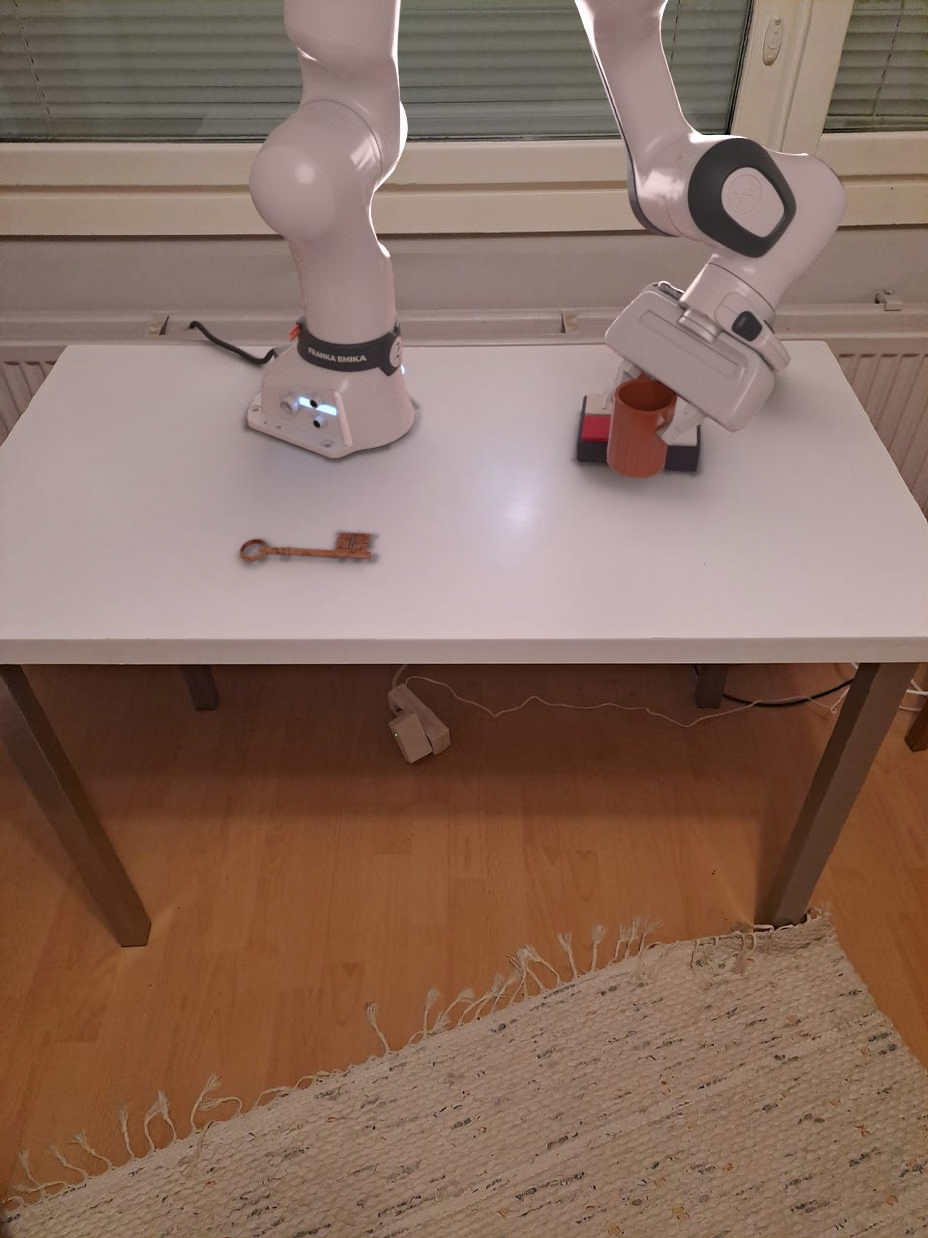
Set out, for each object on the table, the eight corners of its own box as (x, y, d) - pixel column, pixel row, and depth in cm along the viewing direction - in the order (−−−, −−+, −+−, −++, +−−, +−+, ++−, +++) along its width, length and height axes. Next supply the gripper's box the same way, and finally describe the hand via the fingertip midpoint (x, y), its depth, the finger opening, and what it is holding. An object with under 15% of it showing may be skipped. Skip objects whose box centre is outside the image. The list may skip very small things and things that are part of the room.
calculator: (584, 389, 120) (700, 393, 118) (583, 417, 124) (696, 421, 121) (577, 437, 113) (701, 443, 111) (576, 466, 116) (697, 472, 114)
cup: (600, 471, 102) (607, 406, 96) (614, 438, 107) (622, 374, 100) (658, 483, 101) (670, 418, 95) (670, 449, 105) (682, 384, 99)
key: (375, 538, 107) (249, 532, 107) (375, 532, 106) (248, 525, 107) (368, 569, 102) (236, 562, 103) (367, 563, 102) (235, 556, 102)
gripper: (642, 260, 100) (564, 367, 103) (782, 341, 88) (689, 458, 91) (667, 288, 104) (592, 389, 108) (803, 368, 92) (714, 478, 96)
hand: (637, 422), depth 99 cm, fingers closed on cup, 7 cm apart
